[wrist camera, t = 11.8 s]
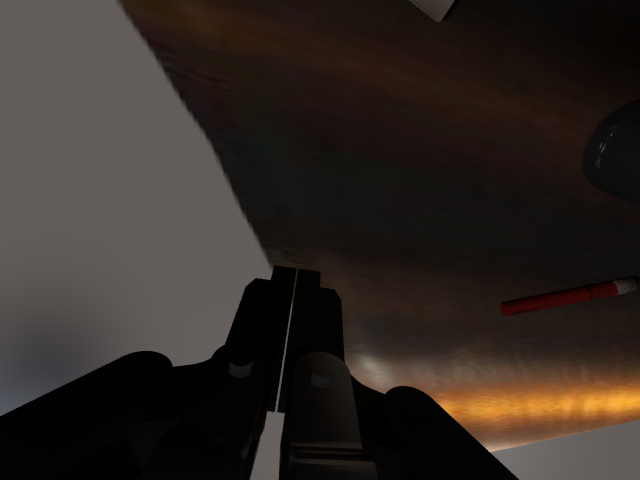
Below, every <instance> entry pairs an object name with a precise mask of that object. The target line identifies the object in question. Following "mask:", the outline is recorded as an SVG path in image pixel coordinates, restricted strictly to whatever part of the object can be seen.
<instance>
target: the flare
mask: <svg viewBox="0 0 640 480" xmlns="http://www.w3.org/2000/svg"><path fill="white" fill-rule="evenodd" d="M636 290H637V284H636V282H635V281H634V279H632V278H625V279H620V280H616V281H611V282H607V283H602V284H597V285H592V286H587V287H582V288H577V289H572V290H567V291H562V292H557V293H552V294H547V295H542V296H537V297H532V298H527V299H522V300H517V301H512V302H507V303H502V304H501V312H502V314H503V315H504V316H510V315H515V314H520V313H525V312H530V311H535V310H540V309H545V308H550V307H555V306H561V305H566V304H571V303H576V302H581V301H586V300H591V299H596V298H601V297H606V296H612V295H617V294H618V295H619V294H624V293H629V292H634V291H636Z"/></svg>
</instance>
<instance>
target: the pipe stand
mask: <svg viewBox="0 0 640 480" xmlns="http://www.w3.org/2000/svg"><path fill="white" fill-rule="evenodd" d="M409 1H410V2H412V3H413V4H414V5H416V6H417V7H418V8H420V9H421V10H422V11H424V12H425V13H426V14H428V15H429V16H430V17H431V18H433V19H434V20H435V21H437V22H440V21H442V19H443V17H444V16H445V14H446V13H447V11H448V10H449V8H450V7H451V5H452V3H453V2H454V0H409Z"/></svg>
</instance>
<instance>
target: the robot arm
mask: <svg viewBox="0 0 640 480" xmlns="http://www.w3.org/2000/svg"><path fill="white" fill-rule="evenodd" d="M584 170H585V174H586V177H587V178H588V180H589V181H590V183H591V184H593V185H594V186H595V187H596V188H598V189H600V190H602V191H604V192H606V193H609V194H611V195H613V196H615V197H617V198H619V199H621V200H623V201H625V202H627V203H629V204H632V205H634V206H636V207H638V208H640V101H636V102H633V103H631V104H628V105H626V106H624V107H622V108H620V109H619V110H617V111H616V112H614V113H612V114H611V115H610V116H609V117H608V118H607V119H606V120H604V121H603V122H602V124H601V125H600V126H599V127H598V128H597V129H596V131H595V132H594V134H593V135H592V137H591V139H590V140H589V143H588V145H587V148H586V150H585V156H584ZM296 269H297V268H290V267H283V266H276V265H275V266H274V269H273V273H272V277H271V280H266V279H258V278H255V279H254V280H253V281H252V282H251V283H249V284H248V285H247V286H246V288H245V290H244V293H243V296H242V300H241V301H240V304H239V308H238V310H237V312H236V315H235V318H234V321H233V323H232V326H231V329H230V332H229V335H228V337H227V340H226V343H225V345H223V346H221V347H220V348H219V349H217V350H216V352H215V353H214V354H213V356H212V358H210V359H209V360H207V361H204V362H201V363H197V364H192V365H184V366H176V367H173V366H172V363H171V361H170V360H169V359H168V358H167V357H166V356H165V355H163V354H161V353H158V352H153V351H139V352H134V353H131V354H128V355H125V356H123V357H121V358H119V359H117V360H115V361H113V362H110V363H109V364H106V365H104V366H102V367H100V368H98V369H96V370H94V371H92V372H90V373H88V374H86V375H84V376H82V377H80V378H78V379H76V380H74V381H72V382H70V383H68V384H66V385H63V386H61V387H59V388H57V389H55V390H53V391H51V392H49V393H47V394H45V395H43V396H41V397H39V398H37V399H35V400H33V401H31V402H28V403H26V404H24V405H23V406H21V407H18V408H16V409H14V410H12V411H10V412H8V413H6V414H4V415H2V416H0V480H250V477H251V473H252V469H253V465H254V461H255V457H256V453H257V450H258V446H259V442H260V436H261V434H262V432H263V430H264V427H265V420H266V415H267V411H271V412H275V406H276V400H277V394H278V387H279V381H280V374H281V368H282V361H283V355H284V349H285V342H286V335H287V329H288V321H289V316H290V309H291V302H292V296H293V289H294V283H295V276H296ZM281 383H282V384H281V390H280V396H279V404H278V410H277V412H280V413H285V416H284V424H283V431H282V437H281V443H280V463H279V480H519V479H518V478H517V477H516V476H515V475H514V474H512V473H511V472H510V471H509V470H508V469H507V468H506V467H505V466H504V465H503V464H502V463H500V461H499V460H498V459H496V458H495V457H494V456H493V455H492V454H491V453H490V452H489V451H488V450H487V449H486V448H485V447H484V446H482V445H481V444H480V443H479V442H478V441H477V440H476V439H475V438H474V437H473V436H472V435H471V434H470V433H469V432H467V431H466V430H465V429H464V428H463V427H462V426H461V425H460V424H459V423H458V422H457V421H456V420H455V419H454V418H452V417H451V416H450V415H449V414H448V413H447V412H446V411H445V410H444V409H443V408H442V407H441V406H440V405H438V404H437V403H436V402H435V401H434V400H433V399H432V398H431V397H430V396H428V395H427V394H426V393H424V392H422V391H420V390H418V389H416V388H413V387H408V386H398V387H394V388H392V389H390V390H389V391H388V392H387V393H386V394H383V393H380V392H378V391H376V390H373V389H371V388H369V387H367V386H365V385H363V384H361V383H360V382H358V381H357V380H356V379H355V378H354V377H353V376H352V375H351V374H350V371H349V369H348V367H347V366H346V364H345V360H344V343H343V324H342V305H341V299H340V297H339V296H338V294H337V293H336V291H335V290H334V289H328V288H321V287H320V272H317V271H311V270H304V269H298V276H297V282H296V288H295V295H294V301H293V307H292V315H291V321H290V327H289V334H288V341H287V349H286V355H285V362H284V370H283V376H282V382H281Z"/></svg>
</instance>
